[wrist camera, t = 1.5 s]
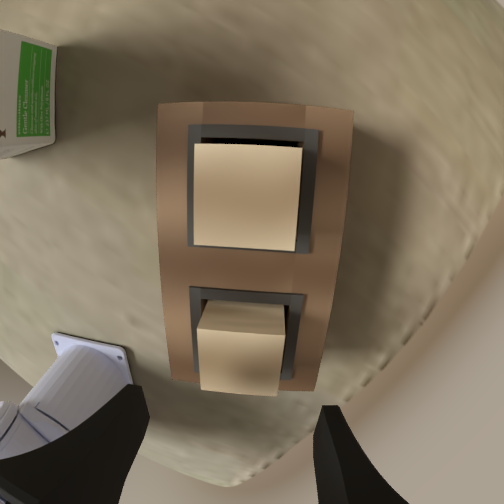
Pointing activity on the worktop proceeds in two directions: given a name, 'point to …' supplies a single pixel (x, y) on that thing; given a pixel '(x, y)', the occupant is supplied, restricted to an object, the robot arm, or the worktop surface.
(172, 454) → the worktop surface
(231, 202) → the peg
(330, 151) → the walnut block
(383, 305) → the worktop surface
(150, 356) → the worktop surface
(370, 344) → the worktop surface
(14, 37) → the skincare box
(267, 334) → the peg
